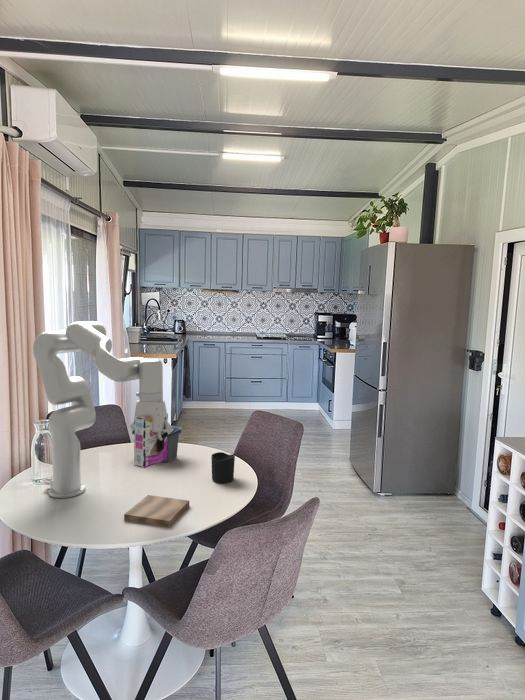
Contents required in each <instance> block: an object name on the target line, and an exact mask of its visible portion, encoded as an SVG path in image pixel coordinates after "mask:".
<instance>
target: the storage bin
mask: <svg viewBox="0 0 525 700" xmlns="http://www.w3.org/2000/svg"><path fill="white" fill-rule="evenodd" d="M171 426H172V428H173V431H172V432H171V433H170V434H169V435H168V437H167V438H168V441H167V460H164V461H162V462H161V463H163V464H164V463H165V464H166V463H167V464H168V463H170V462H172V461H173V460H175V459H176V458H177V457H178V446H179V437H180V436H179V435H180V434H182V428H183V427H181V426H176V425H171ZM130 430H131V434H132V435H134V431H133V430H132V429H131V428H130Z"/></svg>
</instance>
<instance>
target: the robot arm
mask: <svg viewBox="0 0 525 700" xmlns="http://www.w3.org/2000/svg"><path fill="white" fill-rule="evenodd" d="M112 348H113V341H112V339H111V338H109V337H108V336H107V330H106V327H105V326H104V324H102V323H100V322H99V321H94V320H91V321H90V320H89V321H88V320H86V321H84V320H83V321H81V320H80V321H75V322H72V323H70V324H69V325H67V327H66V329H60V330H59V329H58V330H48V331H44V332H41V333H39V334H38V335H37V336H36V337H35V339H34V340H33V345H32V352H33V353H32V354H33V357H34V359H35V361H36V364H37V366H38V368H39V371H40V375H41V379H42V383H43V387H44V391H45V396H46V398H47V401H48V402H49V403H50V404H51V405H52V406H53V405H54V406H60V405H65V404H70V403H72V405H70V406H66V407H61V408H58V409H56V410H54V411H52V412H51V414H50V416H49V417H48V427H49V432H50V436H51V447H52V448H51V449H52V451H51V452H52V477H50V476H49V477H47V478H46V480H45V481H44V484H45V486H50V487H49V489H48V495H49V496H50V497H52V498H55V499H56V498H57V499H68V498H73V497H76V496H80V495H81V494H83V493H84V492H85V490H86V485H85V484H84V483H82V480H81V478H82V477H81V476H82V475H81V473H82V472H81V470H82V469H81V464H82V463H81V442H80V440H79V438H78V437H77V435H76V432H78V431H81V430H85V429H88V428H90V427H92V426H93V425H94V423H95V422H96V418H97V413H96V409H95V405H94V401H93V400H94V399H93V396H92V393H91V389H90V386H89V384H88V381H86V380H85V378H83V377H81V376H79V375H78V376H76V375H75V376H69V375H68V373H67V368H66V366H65V363H64V361H62V360H61V358H59V357H58V356H57V355H58V354H67V353H76V352H80V351H82V352H84V353H85V354H87V355H88V356H90V357H91V358H93V362H94V363H93V364H94V365H95V367H96V370H97V371H98V372H100V373H101V374H102V375H104V376H105V377H107V378H108V379H110V380H112V381H113V382H116V383H125V382H130V381H135V380H138V382H139V384H138V387H139V388H138V392H136V393H135V395H136V397H138V400H137V401H136V404H135V410H134V411H135V412H134V417H137V416H146V417H151V418H152V432H154V433H157V435H158V438H159V440H158V441H157V451H158V452H161V451H162V450H164V447H165V444H164V439H165V438H166V437H167V436H168V435H169V434H170V433H171V432H172V431H173V428H172V426H173V425H171V424H170V422H169V421H168V422H167V413H168V411H167V406H166V402H165V400H164V396H163V395H164V390H163V389H164V388H163V387H164V385H163V384H164V382H163V381H164V379H163V378H164V377H163V376H164V375H163V373H164V372H163V371H164V368H163V362H162V360H160V359H157V358H155V359H154V358H145V357H141V356H133V357H126V358H117V356H114V355H112V354H111V352H112ZM129 427H130V430H131V429H132V430H131V431H134V421H133V422H132V423H131V424H130V425H129ZM166 428H167V431H166V432H164V429H166Z"/></svg>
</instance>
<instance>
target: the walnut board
mask: <svg viewBox="0 0 525 700" xmlns="http://www.w3.org/2000/svg"><path fill="white" fill-rule="evenodd" d="M189 507H190V500H187V499H180V498H171V497H166V496H157V495H150V494H147V495H146V496H145V497H143V499H141V500H140V501H139V502H137V503H136V504H135V505H133V507H131V508H130V509H128V510H127V511H126V512H125V513H124V515H123V519H124V521H129V522H134V523H142V524H147V525H148V524H149V525H154V526H155V525H156V526H160V527H166V528H170V527H171V526H172V525H173V524H174V523H175V522H176V521H177V520H178V518H179V517H181V516H182V515H183V514H184V512H185V511H186V510H187V509H188V508H189Z"/></svg>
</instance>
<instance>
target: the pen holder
mask: <svg viewBox="0 0 525 700" xmlns="http://www.w3.org/2000/svg"><path fill="white" fill-rule="evenodd" d="M210 457H211V480H212V481H213V482H214V483H216V482H217V483H216V484H229V483H231V482H233V481H234V476H235V475H234V474H235V461H236V460H235V459H236V456H235V454H233V453H232V454H228V453H226V452H223V451H222V452H221V451H220V452H219V451H218V452H214V453H213V454H211V456H210ZM228 482H229V483H228Z"/></svg>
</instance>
